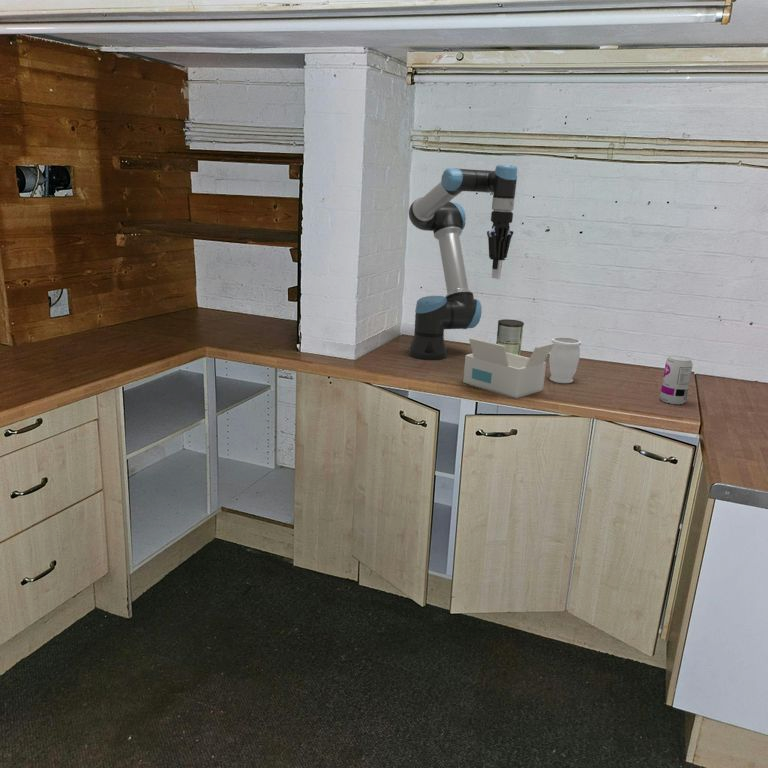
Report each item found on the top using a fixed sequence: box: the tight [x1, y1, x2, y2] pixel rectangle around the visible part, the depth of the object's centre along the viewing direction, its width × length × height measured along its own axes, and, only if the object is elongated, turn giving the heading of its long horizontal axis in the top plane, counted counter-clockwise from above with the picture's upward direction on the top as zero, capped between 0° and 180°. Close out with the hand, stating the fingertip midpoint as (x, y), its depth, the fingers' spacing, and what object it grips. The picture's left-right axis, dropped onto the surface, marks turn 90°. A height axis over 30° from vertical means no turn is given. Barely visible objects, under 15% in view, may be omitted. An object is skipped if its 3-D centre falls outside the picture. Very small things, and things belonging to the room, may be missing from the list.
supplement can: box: [659, 355, 694, 406], centre depth 231 cm, size 8×8×15 cm
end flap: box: [525, 342, 554, 368], centre depth 227 cm, size 8×10×1 cm
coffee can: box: [496, 318, 525, 356], centre depth 283 cm, size 10×10×14 cm
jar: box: [548, 336, 582, 384], centre depth 250 cm, size 11×10×15 cm
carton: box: [462, 352, 547, 400], centre depth 239 cm, size 23×17×10 cm
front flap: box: [468, 337, 509, 367], centre depth 229 cm, size 14×8×1 cm
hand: (495, 278), depth 251 cm, fingers closed
